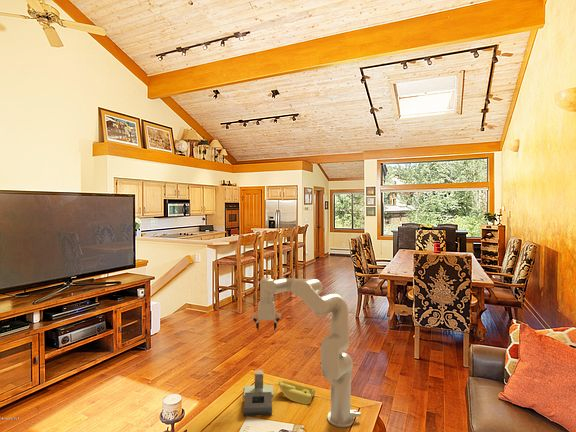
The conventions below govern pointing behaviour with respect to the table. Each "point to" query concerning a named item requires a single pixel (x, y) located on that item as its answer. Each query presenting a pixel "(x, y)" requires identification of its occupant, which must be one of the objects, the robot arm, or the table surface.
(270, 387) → the sage mat
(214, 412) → the table surface
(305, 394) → the plastic component
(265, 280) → the robot arm
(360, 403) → the table surface
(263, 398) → the socket block
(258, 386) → the beige peg
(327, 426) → the table surface
